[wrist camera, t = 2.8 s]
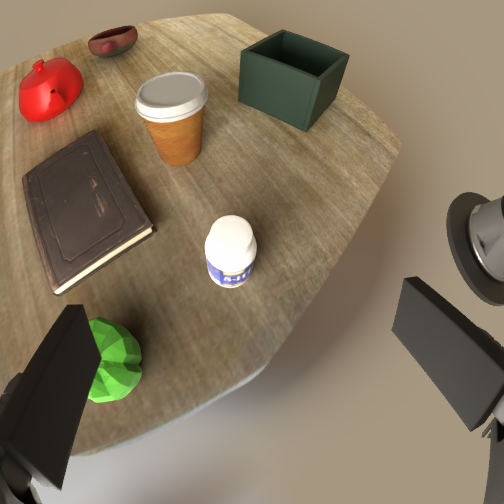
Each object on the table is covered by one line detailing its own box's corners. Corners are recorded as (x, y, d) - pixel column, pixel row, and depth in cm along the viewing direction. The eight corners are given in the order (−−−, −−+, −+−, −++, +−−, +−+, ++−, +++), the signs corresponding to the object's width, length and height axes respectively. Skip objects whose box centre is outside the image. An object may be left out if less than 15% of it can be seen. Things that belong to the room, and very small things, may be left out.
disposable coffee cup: (137, 154, 42) (118, 95, 31) (182, 121, 45) (175, 62, 34) (177, 185, 40) (163, 121, 29) (224, 147, 43) (224, 84, 32)
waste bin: (335, 98, 51) (349, 55, 41) (306, 132, 46) (320, 81, 36) (275, 72, 53) (282, 29, 43) (238, 101, 48) (240, 51, 38)
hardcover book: (101, 136, 43) (97, 127, 41) (156, 233, 36) (152, 224, 34) (26, 185, 38) (20, 177, 36) (58, 298, 32) (49, 293, 30)
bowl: (86, 58, 55) (79, 35, 48) (128, 38, 59) (124, 15, 52) (106, 75, 51) (99, 47, 44) (155, 52, 55) (151, 25, 48)
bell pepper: (166, 352, 31) (141, 343, 22) (133, 410, 28) (97, 422, 19) (110, 314, 32) (71, 290, 23) (78, 369, 29) (31, 362, 20)
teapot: (20, 106, 47) (2, 71, 36) (72, 72, 52) (59, 34, 41) (38, 153, 41) (11, 108, 30) (106, 107, 46) (89, 57, 35)
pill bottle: (225, 297, 34) (224, 271, 26) (199, 263, 35) (191, 228, 27) (261, 271, 35) (271, 238, 27) (235, 239, 37) (237, 199, 29)
